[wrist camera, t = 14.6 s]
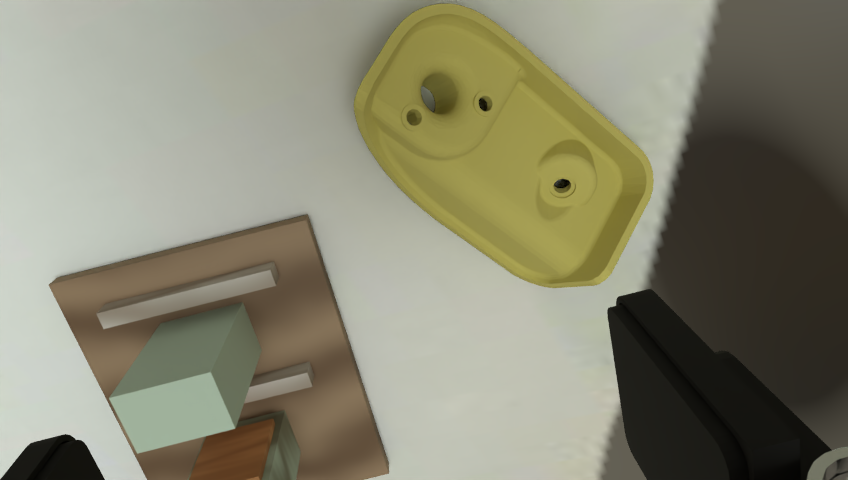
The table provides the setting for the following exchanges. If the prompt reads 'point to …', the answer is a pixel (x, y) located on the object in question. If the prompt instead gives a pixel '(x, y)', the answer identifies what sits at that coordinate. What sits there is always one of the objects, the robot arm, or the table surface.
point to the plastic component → (502, 149)
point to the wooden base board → (277, 366)
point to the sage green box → (188, 379)
